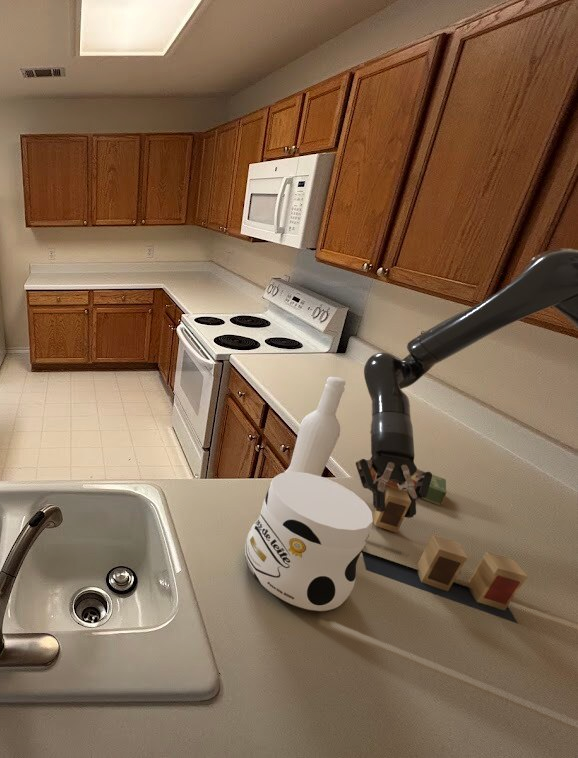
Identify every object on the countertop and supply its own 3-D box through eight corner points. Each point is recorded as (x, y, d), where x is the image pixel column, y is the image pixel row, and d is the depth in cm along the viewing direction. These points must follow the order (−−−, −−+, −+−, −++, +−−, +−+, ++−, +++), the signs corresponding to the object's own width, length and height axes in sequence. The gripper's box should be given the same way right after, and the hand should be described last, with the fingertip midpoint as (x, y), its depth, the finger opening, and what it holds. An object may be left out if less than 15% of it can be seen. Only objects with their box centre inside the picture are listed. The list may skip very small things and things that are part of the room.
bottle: (319, 491, 101) (362, 379, 90) (311, 506, 95) (356, 388, 84) (285, 477, 106) (321, 369, 95) (275, 490, 100) (313, 376, 89)
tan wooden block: (393, 521, 89) (406, 491, 86) (397, 533, 86) (411, 502, 83) (371, 514, 91) (384, 485, 88) (374, 526, 87) (388, 495, 84)
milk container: (222, 569, 76) (245, 489, 69) (266, 530, 86) (290, 457, 80) (322, 642, 64) (362, 553, 57) (358, 586, 74) (395, 506, 68)
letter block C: (492, 592, 75) (514, 559, 72) (505, 611, 71) (528, 577, 68) (465, 584, 76) (485, 551, 73) (477, 602, 72) (498, 568, 69)
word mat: (495, 591, 76) (497, 588, 76) (516, 626, 69) (518, 623, 69) (358, 545, 84) (359, 542, 84) (364, 572, 78) (366, 569, 77)
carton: (367, 465, 115) (373, 452, 113) (440, 492, 105) (447, 478, 104) (363, 477, 109) (369, 463, 107) (440, 506, 99) (448, 492, 98)
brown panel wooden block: (440, 575, 77) (459, 543, 74) (448, 592, 74) (468, 558, 71) (415, 567, 79) (432, 535, 76) (421, 582, 76) (439, 549, 73)
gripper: (364, 425, 90) (365, 503, 83) (439, 438, 87) (447, 521, 80) (348, 435, 97) (348, 508, 90) (418, 447, 93) (423, 524, 87)
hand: (394, 513), depth 85 cm, fingers closed on tan wooden block, 4 cm apart
